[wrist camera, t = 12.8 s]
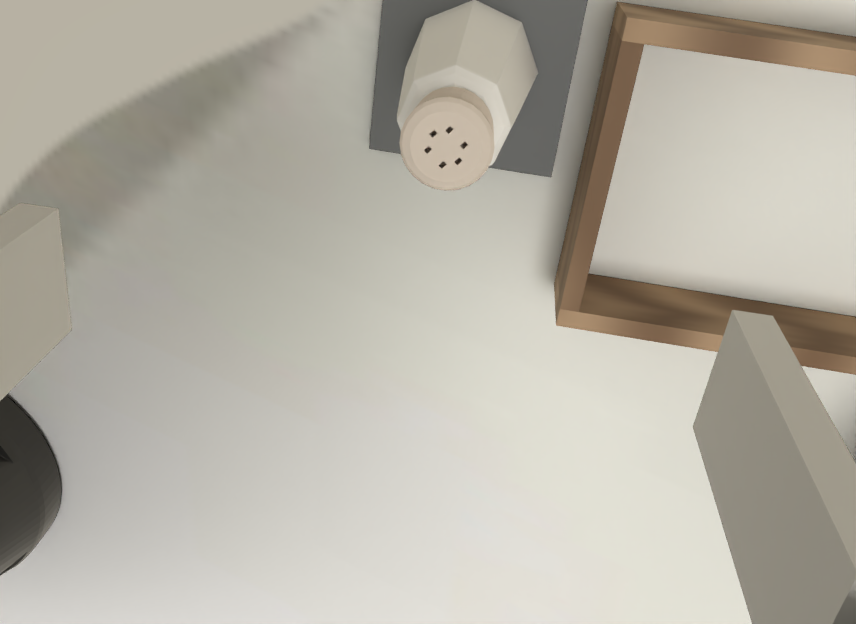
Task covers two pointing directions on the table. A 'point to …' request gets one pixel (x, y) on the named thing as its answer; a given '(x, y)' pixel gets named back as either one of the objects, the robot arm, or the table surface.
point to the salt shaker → (462, 93)
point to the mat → (546, 101)
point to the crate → (574, 288)
